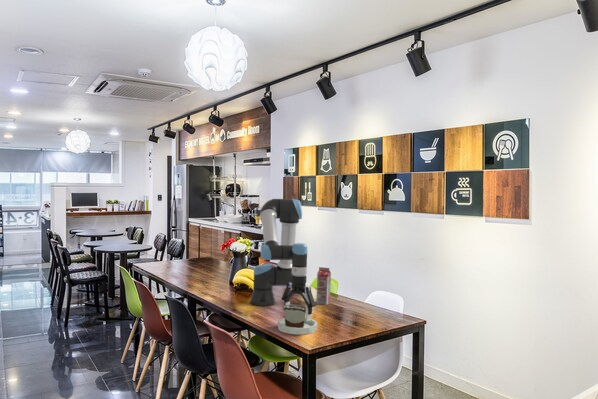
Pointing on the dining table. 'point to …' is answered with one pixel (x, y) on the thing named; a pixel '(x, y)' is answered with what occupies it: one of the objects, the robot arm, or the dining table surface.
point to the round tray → (308, 328)
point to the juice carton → (323, 286)
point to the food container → (294, 315)
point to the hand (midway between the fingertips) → (297, 317)
